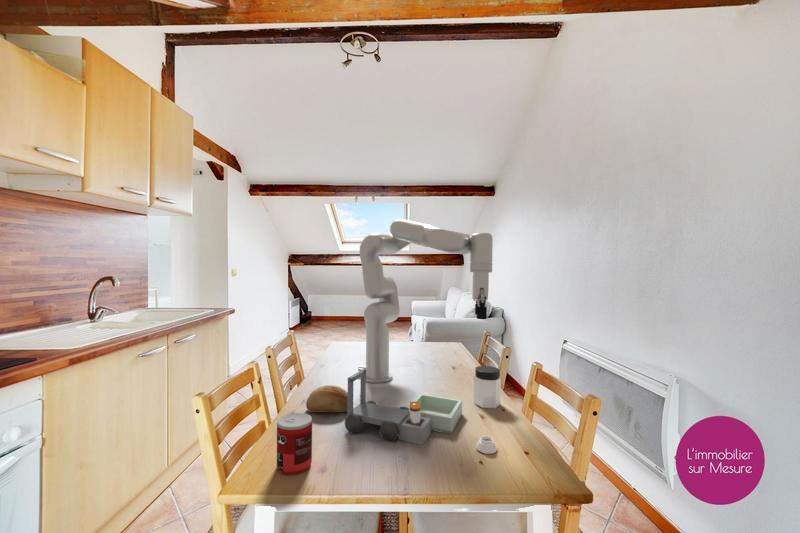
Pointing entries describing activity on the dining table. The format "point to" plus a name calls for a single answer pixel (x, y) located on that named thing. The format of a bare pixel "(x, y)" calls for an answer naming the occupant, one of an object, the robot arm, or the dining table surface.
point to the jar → (487, 386)
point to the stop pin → (415, 413)
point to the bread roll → (328, 399)
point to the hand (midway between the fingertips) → (480, 316)
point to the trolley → (383, 417)
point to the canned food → (294, 443)
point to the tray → (440, 412)
